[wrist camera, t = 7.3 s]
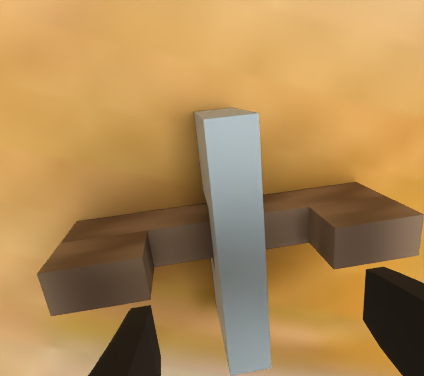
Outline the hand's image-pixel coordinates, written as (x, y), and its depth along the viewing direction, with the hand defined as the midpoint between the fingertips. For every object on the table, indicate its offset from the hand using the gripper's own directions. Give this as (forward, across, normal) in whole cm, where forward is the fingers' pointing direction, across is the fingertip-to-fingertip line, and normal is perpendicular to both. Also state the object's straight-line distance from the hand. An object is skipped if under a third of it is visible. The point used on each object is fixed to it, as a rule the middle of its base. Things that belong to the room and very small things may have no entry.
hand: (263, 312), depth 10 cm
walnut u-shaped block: (+8, 0, 0) cm, 8 cm away
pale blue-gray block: (+8, 0, 0) cm, 8 cm away
